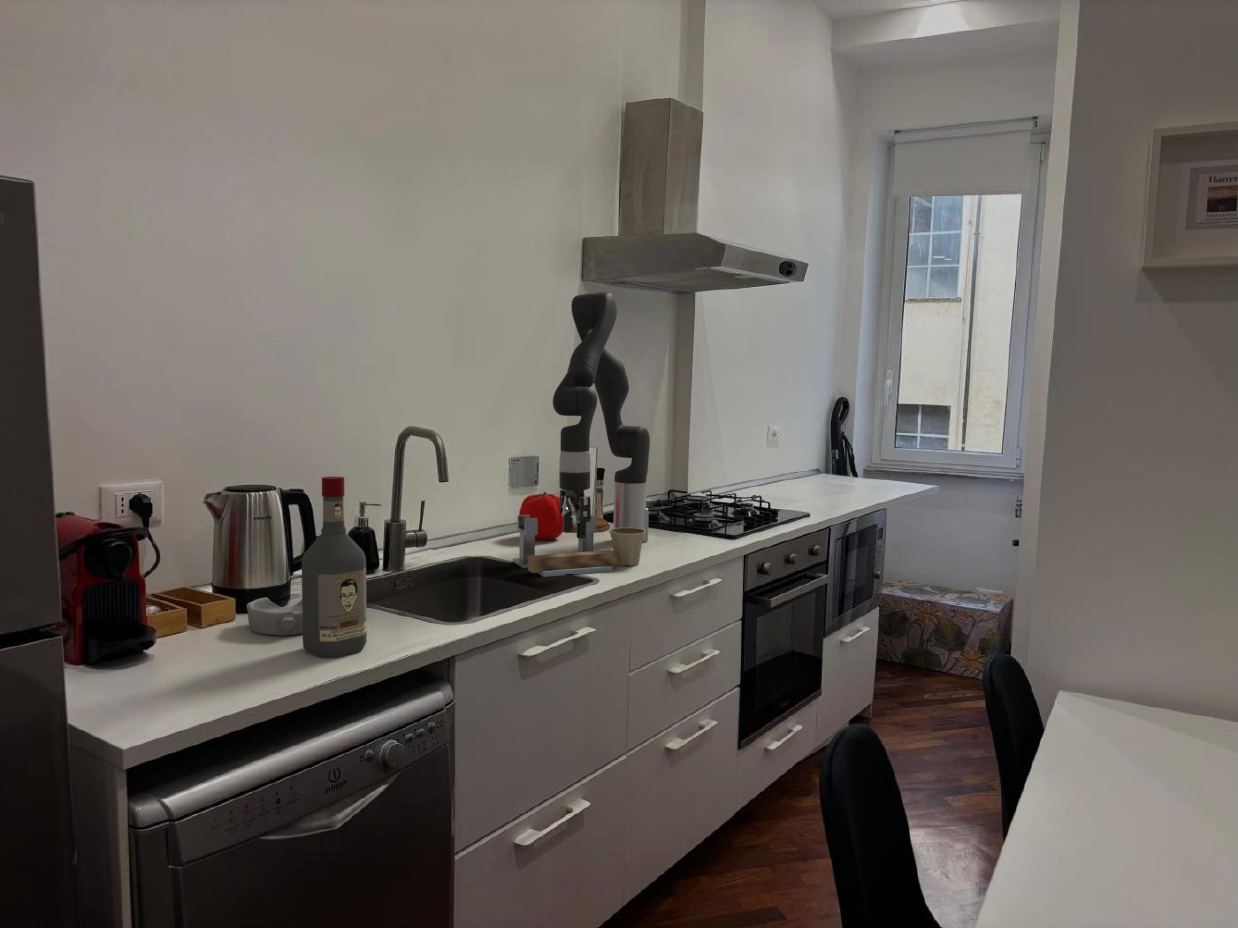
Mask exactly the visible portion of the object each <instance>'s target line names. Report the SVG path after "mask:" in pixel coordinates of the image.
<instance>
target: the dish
mask: <svg viewBox="0 0 1238 928" xmlns="http://www.w3.org/2000/svg"><path fill="white" fill-rule="evenodd" d="M246 610H247V619H248V625H249V627H250V629H251V631H253V632H255V633H258V634H261V635H271V636H296V635H297V636H298V635H303V615H302V598H301V599H300V600H299V601H298V602H297V603H296V604H294V605H291V606H286V607H283V606H280V605H277V604H276V603H274V602H273V601H271V600H270V599H269V598H268V597H261V598H257V599H253V601H250V602H248V603H247V604H246Z"/></svg>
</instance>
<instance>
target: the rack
mask: <svg viewBox="0 0 1238 928" xmlns="http://www.w3.org/2000/svg"><path fill="white" fill-rule="evenodd" d="M586 515H587V513H586ZM597 518H598V516H597V515H596V514H591V521H588V522H587V523H586V538H583V539H578V538H577V541H578V542H577V552H590V551H594V541H595V540H594V534H595V533H594V532H597V529H598V528H597V527H598V526H597V525H598V524H597V523H598V521H597V520H598V519H597ZM516 520H517V521H516V522H517V528H516V531H517V532H518V533H519V557H516V558H512V563H514V564H516V565H517V566H519V567H521V568H522V569H526V568H527V569H528V556H534V555H536V549H535V548H536V539H535V535H538V531H537V528H538V519H537V518H530V515H519V514H517V519H516ZM575 528H576V529H577V521H576V520H575Z"/></svg>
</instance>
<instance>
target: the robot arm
mask: <svg viewBox="0 0 1238 928" xmlns="http://www.w3.org/2000/svg"><path fill="white" fill-rule="evenodd" d="M570 306H571V314H572V320H573V322H574V324H575V328H576V331H577V333H578V334H577V335H578V336H579V338H580V341H581V342H580V343H579V344H578V345H577V346H576V347H575V349H574V350H573V352H572V354H571V356H570V360H569V362H568V363H569V364H568V368H567V372H566V374H565V376H564V377H563V379H562V380H561V381H560V383H559V384H558V386H557V387H556V389H555V391H554V393H553V395H552V396H553V397H552V407H553V410H554V411H555V412H556V414H558V415H560V416H562V417H563V416H564V417H565V416H566V417H580V419H579V422H578V423H576V424H572V425H566V426H564V427H562V428H561V430H560V452H559V453H560V454H559V461H558V462H559V463H558V465H559V468H558V469H559V472H558V473H559V477H558V479H559V480H558V481H559V482H558V485H559V486H558V487H559V489H560V490H559V498H560V509H559V512H560V513H562V516H563V517H564V530H563V532H564V533H572V532H573V531H574V527H573V526H574V524H573V523H574V522H573V521H574V518H573V516H575V522H576V521H577V528H576V538H577V540H578V539H583V538H586V523H587V522H588V521H591V515H592V513H591V508H592V507H591V505H592V504H591V496H585V491H587V490H589V489H590V488H591V453H590V449H591V448H590V442H591V441H590V435H591V428H592V423H593V420H594V416H595V413H596V409H597V407H598V406H597V405H598V401H599V404H600V407H601V411H602V415H603V416H602V417H603V421H604V426H605V432H606V436H607V437H606V438H607V441H608V446H609V449H610V452H611V453H612V455H613V456H614V457H616V458H624V459H631V462H630V465H628V466H627V467H625V468H622V469H620V470H617V471H615V472H614V479H613V480H614V484H613V485H614V487H613V488H614V489H613V528H639V529H644V530H645V531H646V532H645V533H644V538H643V540H642V543H644V542H648V541H649V511H650V510H649V508H648V507H647V477H648V471H649V460H650V459H649V458H650V448H651V447H650V446H651V444H650V443H651V438H650V433H649V431H648V429H647V428H646V427H644V426H637V425H624V424H623V421H622V417H621V416H622V415H621V412H622V408H623V406H624V404H625V402H626V399H627V397H628V395H629V391H630V390H629V389H630V382H629V379H628V376H627V375H628V374H627V372H626V368H625V365H624V364H623V361H622V360H621V359H620V358H619V357H618V356H617V355H616V354H615V353H614V352H613V351H612V350H610V349H609V348H608V347H607V346H606V344H607V342H608V340H609V337H610V335H611V333H612V331H613V329H614V326H615V323H616V320H617V314H618V311H617V310H618V308H617V302H616V300H615V298H614V295H613V294H612V293H610V292H607V291H602V292H601V291H600V292H592V293H584V294H578V295H576V296H573V298H572V300H571V305H570ZM593 385H594V387H595V389H594V388H592V386H593ZM586 513H587V515H586Z"/></svg>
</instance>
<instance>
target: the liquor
mask: <svg viewBox="0 0 1238 928" xmlns="http://www.w3.org/2000/svg"><path fill="white" fill-rule="evenodd" d="M321 496H322V527H321V530H320V532H321V534H319V536H318V537H317V538H316V539H315V541H314V542H313V543H312V544H311V545H309V547H308V548H307V550H306V551H305V552H304V553H303V556H302V558H301V597H302V598H301V599H302V615H303V633H302V647H303V648H304V651H305V652H306V653H309V654H310V655H314V656H315V657H318V658H320V659H321V658H322V659H324V658H325V659H329V658H331V659H332V658H333V659H335V658H340V657H344V656H348V655H353V654H356V653H361V652H362V650H363V649H364V648H365V646H366V645H367V641H368V639H367V637H368V635H367V557H366V555H365V552H364V550H363V548H361V547H360V546H359V545H358V543H356V542H355V540H353V539H352V538H351V537H350V535H349V534H348V533H347V528H346V526H345V506H344V505H345V503H344V500H345V499H344V496H345V477H344V476H323V477H321Z"/></svg>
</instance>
